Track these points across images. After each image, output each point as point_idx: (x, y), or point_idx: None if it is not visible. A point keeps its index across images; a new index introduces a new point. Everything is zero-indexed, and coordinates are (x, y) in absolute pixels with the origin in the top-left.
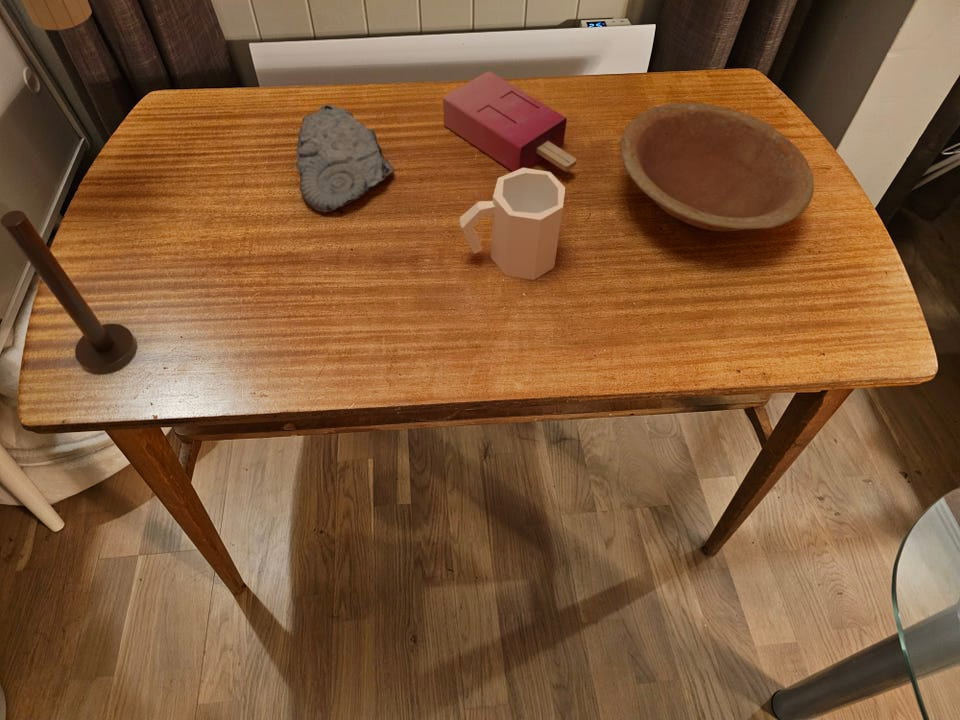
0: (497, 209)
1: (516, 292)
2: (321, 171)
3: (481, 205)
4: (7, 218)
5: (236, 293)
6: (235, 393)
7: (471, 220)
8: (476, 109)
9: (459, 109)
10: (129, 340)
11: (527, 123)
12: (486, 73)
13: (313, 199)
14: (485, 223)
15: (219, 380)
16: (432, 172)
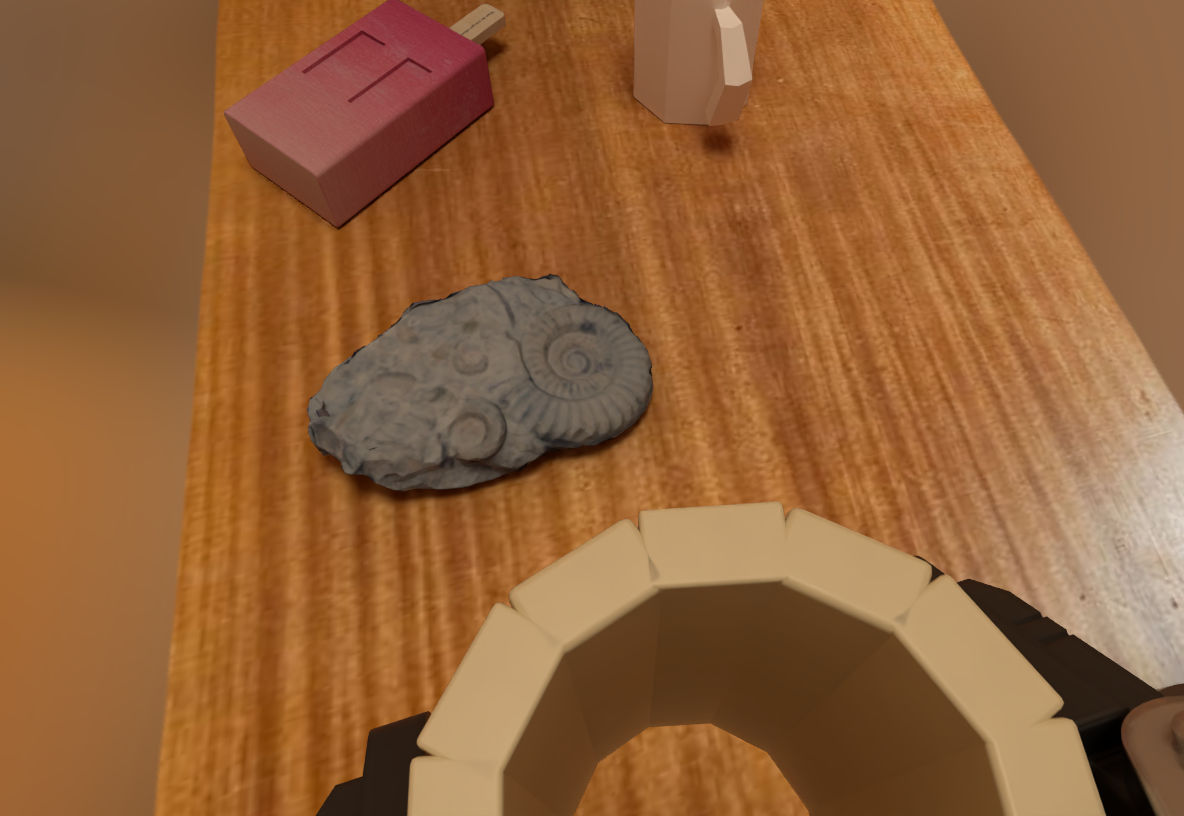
0: (736, 1)
1: (779, 89)
2: (548, 394)
3: (729, 23)
4: None
5: (922, 517)
6: (1164, 446)
7: (746, 53)
8: (364, 116)
9: (358, 146)
10: (1171, 695)
11: (411, 43)
12: (234, 113)
13: (636, 399)
14: (625, 139)
15: (1150, 484)
16: (490, 230)
